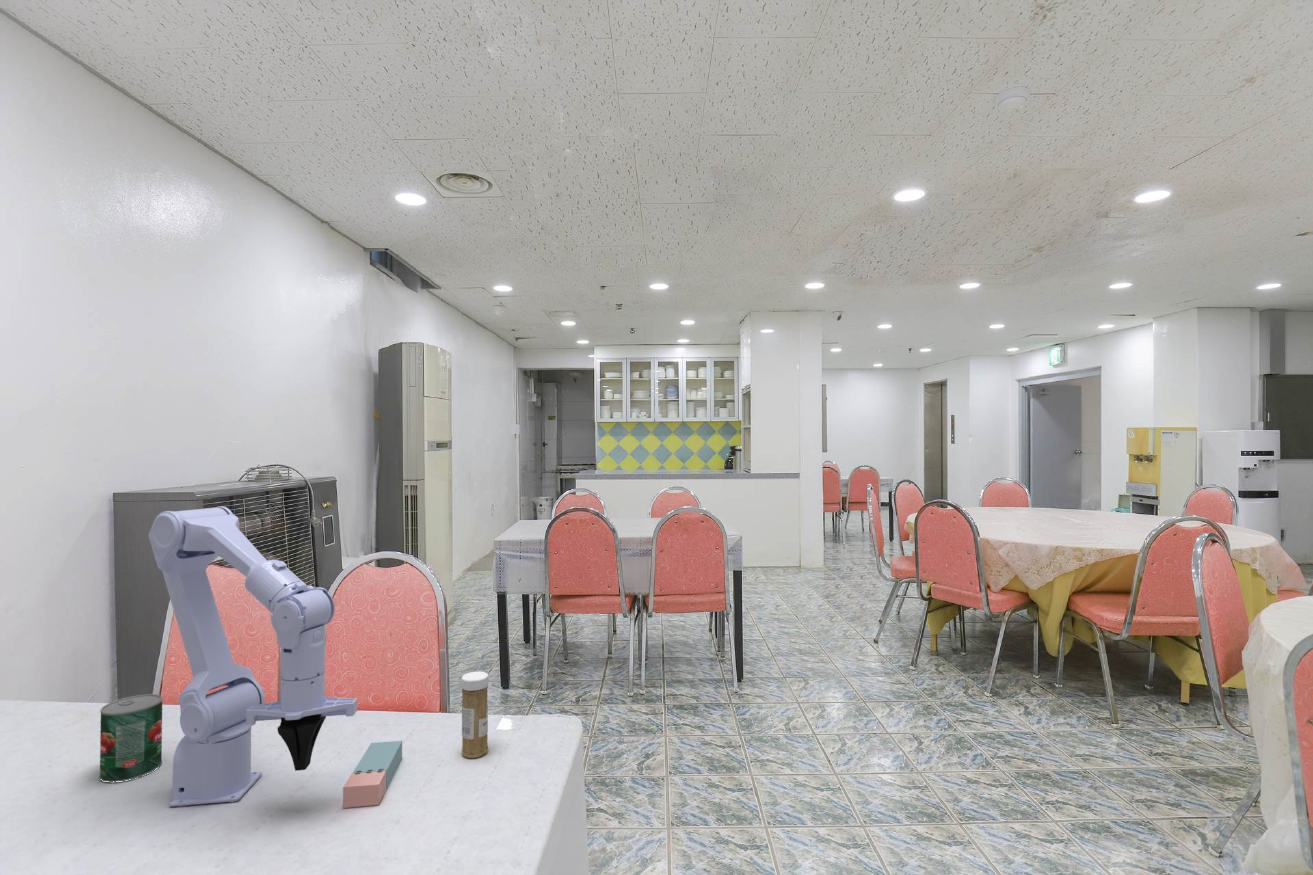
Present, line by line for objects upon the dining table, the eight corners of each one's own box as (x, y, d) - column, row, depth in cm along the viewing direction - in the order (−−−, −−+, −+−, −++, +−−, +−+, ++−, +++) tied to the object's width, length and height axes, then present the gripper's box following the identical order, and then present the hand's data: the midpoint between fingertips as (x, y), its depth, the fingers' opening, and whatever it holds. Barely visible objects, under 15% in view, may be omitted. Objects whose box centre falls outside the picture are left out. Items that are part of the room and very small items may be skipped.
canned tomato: (172, 764, 104) (173, 698, 105) (115, 787, 97) (116, 716, 98) (145, 755, 108) (146, 690, 108) (88, 776, 101) (89, 708, 101)
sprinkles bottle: (491, 754, 108) (492, 676, 108) (465, 761, 105) (465, 681, 106) (483, 744, 112) (483, 668, 112) (457, 750, 109) (458, 673, 109)
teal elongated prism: (352, 792, 96) (352, 772, 96) (371, 760, 106) (371, 742, 106) (386, 789, 97) (386, 769, 97) (402, 758, 107) (402, 739, 107)
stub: (342, 807, 92) (343, 786, 92) (351, 793, 96) (351, 772, 96) (378, 804, 92) (379, 783, 93) (386, 790, 96) (386, 769, 96)
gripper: (235, 687, 87) (234, 785, 87) (346, 680, 89) (346, 776, 89) (259, 669, 94) (258, 760, 94) (361, 663, 96) (361, 752, 96)
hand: (302, 766), depth 92 cm, fingers closed
